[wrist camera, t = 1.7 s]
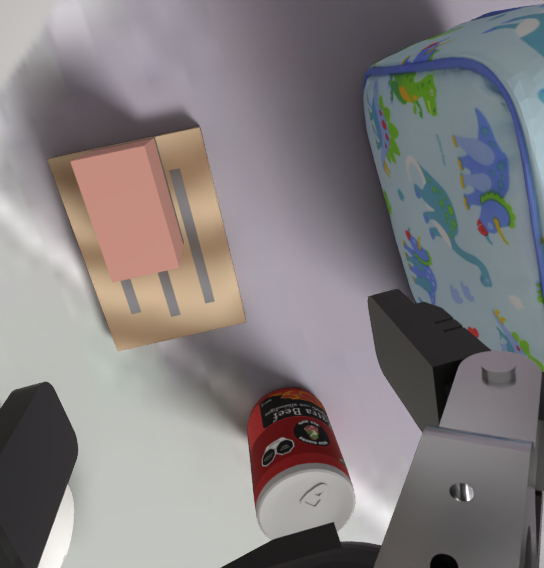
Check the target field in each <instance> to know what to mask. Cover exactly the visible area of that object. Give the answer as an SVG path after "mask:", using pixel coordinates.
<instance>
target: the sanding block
mask: <svg viewBox="0 0 544 568" xmlns="http://www.w3.org/2000/svg"><path fill="white" fill-rule="evenodd" d="M70 162H71V165H72V168H73V171H74V174H75V177H76V180H77V182H78V185H79V188H80V191H81V194H82V197H83V200H84V203H85V205H86V208H87V211H88V214H89V217H90V220H91V223H92V225H93V228H94V231H95V234H96V237H97V240H98V243H99V245H100V248H101V251H102V254H103V257H104V260H105V263H106V266H107V268H108V271H109V274H110V277H111V280H112V283H113V282H118V281H122V280H127V279H131V278H136V277H140V276H145V275H149V274H154V273H158V272H163V271H167V270H172V269H176V268H179V267H180V261H181V256H182V250H183V244H184V240H183V237H182V233H181V230H180V226H179V222H178V219H177V215H176V211H175V208H174V204H173V201H172V197H171V193H170V190H169V186H168V182H167V179H166V175H165V172H164V168H163V164H162V161H161V157H160V153H159V150H158V146H157V143H156V139H155V137H153V138H148V139H143V140H138V141H134V142H129V143H124V144H119V145H115V146H110V147H105V148H101V149H96V150H92V151H90V152H88V153H86V154H84V155H82V156H80V157H78V158H76V159H74V160H72V161H70Z"/></svg>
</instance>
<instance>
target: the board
mask: <svg viewBox="0 0 544 568" xmlns="http://www.w3.org/2000/svg"><path fill="white" fill-rule="evenodd" d="M153 137H155V139H156V143H157V146H158V150H159V153H160V157H161V161H162V164H163V168H164V172H165V175H166V179H167V182H168V186H169V190H170V193H171V197H172V201H173V204H174V208H175V211H176V215H177V219H178V222H179V226H180V230H181V233H182V237H183V240H184V244H183V250H182V256H181V261H180V267H179V268H176V269H172V270H167V271H163V272H158V273H154V274H149V275H145V276H140V277H136V278H131V279H127V280H122V281H118V282H113V283H112V280H111V277H110V274H109V271H108V268H107V266H106V263H105V260H104V257H103V254H102V251H101V248H100V245H99V243H98V240H97V237H96V234H95V231H94V228H93V225H92V223H91V220H90V217H89V214H88V211H87V208H86V205H85V203H84V200H83V197H82V194H81V191H80V188H79V185H78V182H77V180H76V177H75V174H74V171H73V168H72V165H71V162H70V161H72V160H74V159H76V158H78V157H80V156H82V155H84V154H86V153H88V152H90V151H92V150H96V149H101V148H105V147H110V146H115V145H119V144H124V143H129V142H134V141H138V140H143V139H148V138H153ZM48 163H49V165H50V168H51V171H52V174H53V176H54V179H55V182H56V184H57V187H58V190H59V193H60V195H61V198H62V201H63V203H64V206H65V209H66V212H67V214H68V217H69V220H70V223H71V225H72V228H73V231H74V233H75V236H76V239H77V242H78V244H79V247H80V250H81V253H82V255H83V258H84V261H85V263H86V266H87V269H88V272H89V274H90V277H91V280H92V283H93V285H94V288H95V291H96V293H97V296H98V299H99V302H100V304H101V307H102V310H103V313H104V315H105V318H106V321H107V323H108V326H109V329H110V332H111V334H112V337H113V340H114V343H115V345H116V348H117V351H122V350H126V349H130V348H135V347H139V346H144V345H148V344H152V343H157V342H161V341H166V340H170V339H174V338H179V337H183V336H188V335H192V334H196V333H201V332H205V331H210V330H214V329H218V328H223V327H227V326H231V325H236V324H240V323H245V322H246V318H245V313H244V309H243V304H242V300H241V296H240V292H239V288H238V283H237V279H236V275H235V271H234V267H233V262H232V258H231V254H230V250H229V246H228V242H227V237H226V233H225V229H224V225H223V221H222V216H221V212H220V208H219V204H218V200H217V196H216V191H215V187H214V183H213V179H212V175H211V170H210V166H209V162H208V158H207V154H206V150H205V145H204V141H203V137H202V133H201V129H200V126H198V127H194V128H189V129H184V130H179V131H175V132H170V133H165V134H161V135H156V136H151V137H146V138H142V139H137V140H132V141H127V142H123V143H118V144H113V145H108V146H104V147H99V148H94V149H90V150H85V151H80V152H75V153H71V154H66V155H61V156H56V157H53V158H50V159H48Z"/></svg>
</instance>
